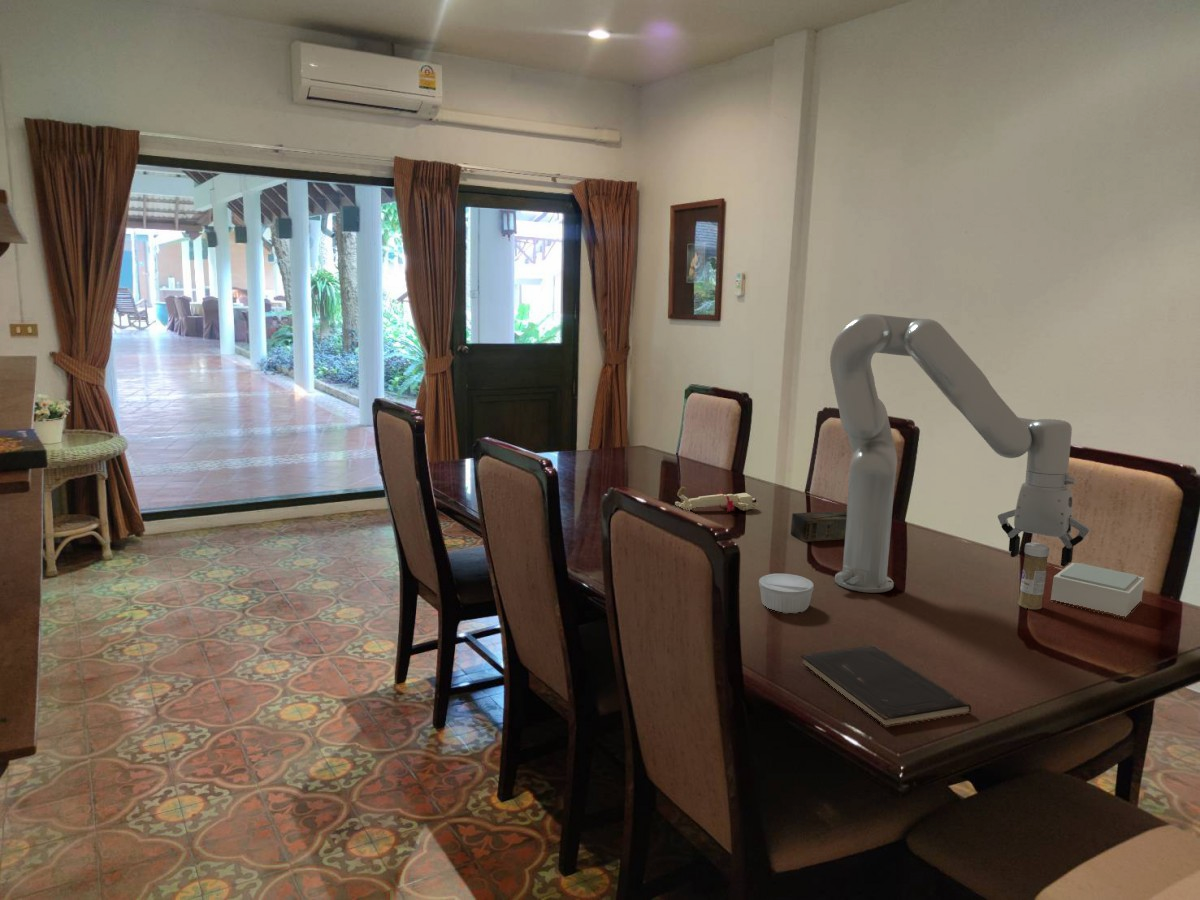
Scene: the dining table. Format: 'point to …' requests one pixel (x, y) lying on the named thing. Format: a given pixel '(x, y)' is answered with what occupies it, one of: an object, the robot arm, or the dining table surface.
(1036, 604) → the sprinkles bottle
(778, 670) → the dining table surface
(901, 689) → the hardcover book
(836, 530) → the beverage carton
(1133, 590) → the white rimmed tray
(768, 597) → the ramekin
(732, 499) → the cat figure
